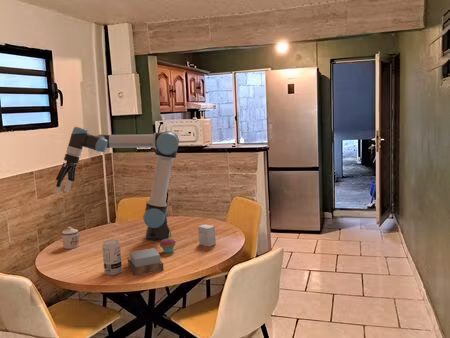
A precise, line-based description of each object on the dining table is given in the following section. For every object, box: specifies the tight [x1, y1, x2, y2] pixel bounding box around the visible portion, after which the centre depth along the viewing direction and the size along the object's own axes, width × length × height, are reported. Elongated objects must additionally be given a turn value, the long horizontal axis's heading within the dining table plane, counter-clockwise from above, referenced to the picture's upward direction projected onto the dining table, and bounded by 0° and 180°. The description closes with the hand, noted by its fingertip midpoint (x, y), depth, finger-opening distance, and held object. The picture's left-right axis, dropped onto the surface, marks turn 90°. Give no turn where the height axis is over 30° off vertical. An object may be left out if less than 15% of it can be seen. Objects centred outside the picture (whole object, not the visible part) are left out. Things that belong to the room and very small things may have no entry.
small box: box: [197, 224, 217, 247], centre depth 247 cm, size 8×6×10 cm
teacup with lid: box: [61, 226, 80, 250], centre depth 255 cm, size 12×9×12 cm
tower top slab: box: [129, 247, 161, 267], centre depth 214 cm, size 12×12×4 cm
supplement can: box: [101, 239, 123, 276], centre depth 211 cm, size 8×8×15 cm
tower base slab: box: [127, 259, 164, 277], centre depth 215 cm, size 14×14×4 cm
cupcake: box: [159, 231, 176, 254], centre depth 237 cm, size 9×8×12 cm
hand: (61, 192), depth 241 cm, fingers open, 13 cm apart
